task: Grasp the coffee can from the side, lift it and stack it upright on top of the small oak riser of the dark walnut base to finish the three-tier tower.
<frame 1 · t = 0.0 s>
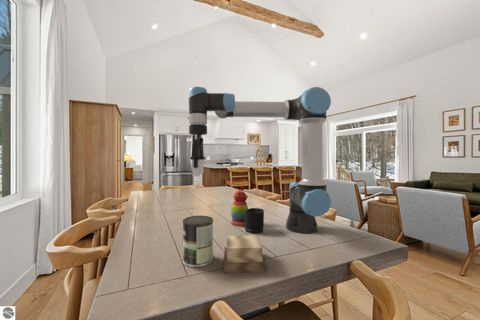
hand: (198, 175, 92), 28 cm above the table, tool pointing down, fingers open, 13 cm apart
plinth: (243, 262, 73), on the table
coffee can: (198, 260, 75), on the table
stacking bear: (240, 224, 117), on the table
pen holder: (254, 231, 105), on the table
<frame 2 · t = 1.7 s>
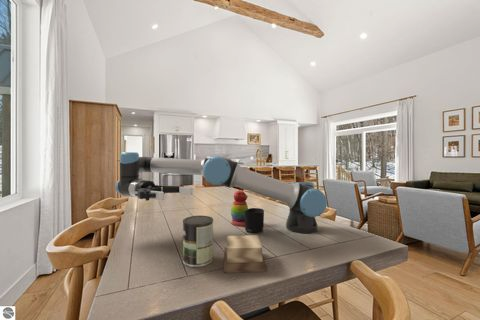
hand: (178, 193, 80), 22 cm above the table, tool horizontal, fingers open, 13 cm apart
nothing on the table moved.
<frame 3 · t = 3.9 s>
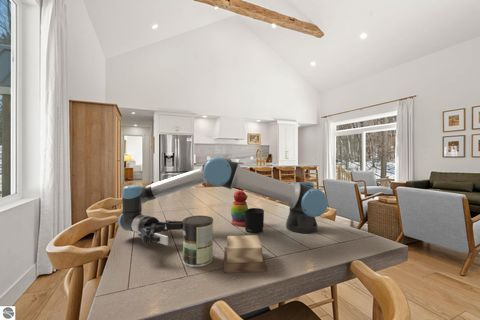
hand: (182, 234, 78), 8 cm above the table, tool horizontal, fingers open, 13 cm apart
nothing on the table moved.
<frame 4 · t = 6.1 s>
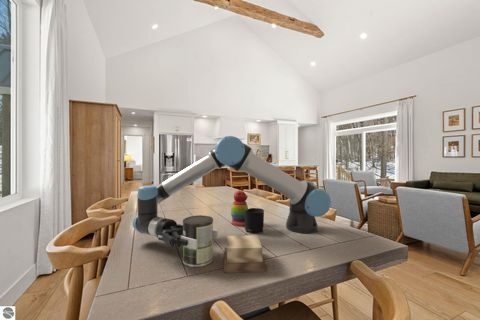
hand: (207, 239, 73), 8 cm above the table, tool horizontal, fingers closed on coffee can, 10 cm apart
coffee can: (198, 260, 75), on the table, touching gripper
everything else where it was.
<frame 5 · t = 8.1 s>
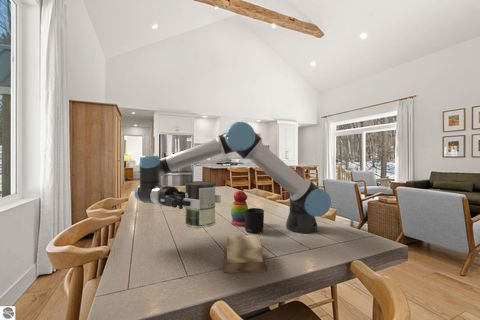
hand: (210, 201, 72), 21 cm above the table, tool horizontal, fingers closed on coffee can, 10 cm apart
coffee can: (200, 224, 75), point 12 cm above the table, touching gripper
everything else where it was.
when the fingers open (16 cm above the table, at t = 10.5 s): coffee can drops 1 cm, resting on plinth.
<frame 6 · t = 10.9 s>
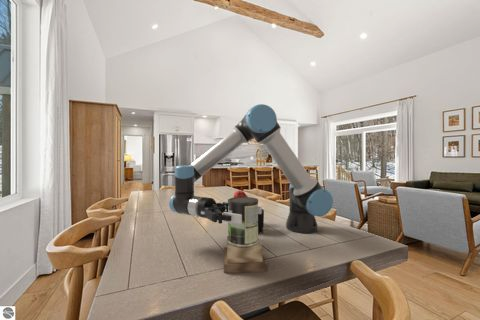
hand: (252, 214, 71), 16 cm above the table, tool horizontal, fingers open, 13 cm apart
coffee can: (243, 241, 73), point 7 cm above the table, touching plinth
everything else where it was.
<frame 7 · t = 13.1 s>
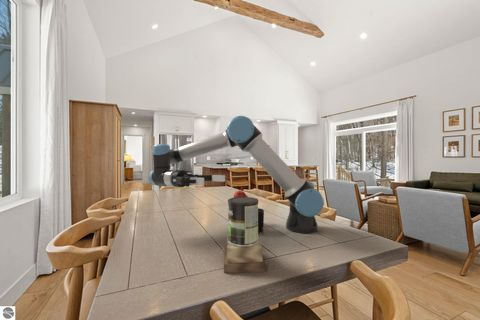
hand: (215, 179, 86), 27 cm above the table, tool horizontal, fingers open, 13 cm apart
nothing on the table moved.
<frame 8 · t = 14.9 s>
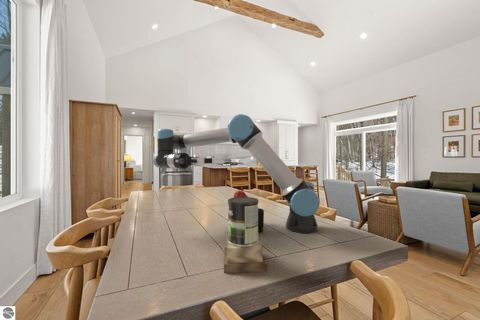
hand: (214, 160, 92), 34 cm above the table, tool horizontal, fingers open, 13 cm apart
nothing on the table moved.
at the end: coffee can inside the target area on the plinth (0.1 cm from its centre), point 6.8 cm above the plinth's base; coffee can tilted 0°; the gripper is holding nothing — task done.
